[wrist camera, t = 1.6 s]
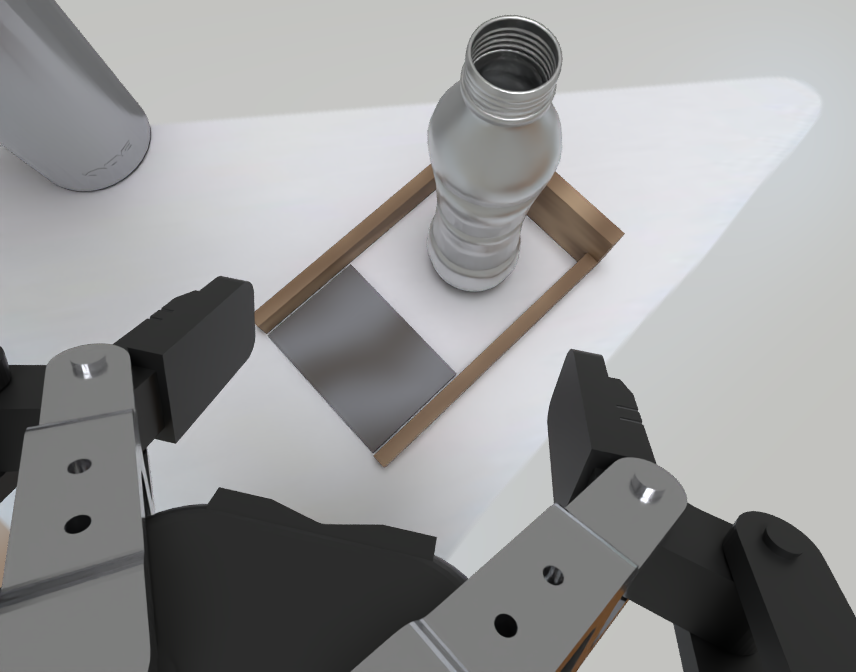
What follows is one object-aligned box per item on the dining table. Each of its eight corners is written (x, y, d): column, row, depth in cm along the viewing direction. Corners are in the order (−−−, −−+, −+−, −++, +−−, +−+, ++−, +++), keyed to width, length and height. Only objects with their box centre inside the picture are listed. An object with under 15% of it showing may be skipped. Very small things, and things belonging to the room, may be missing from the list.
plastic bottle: (477, 316, 37) (534, 164, 18) (408, 261, 38) (391, 59, 19) (530, 255, 39) (637, 48, 19) (462, 202, 40) (498, -44, 20)
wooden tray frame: (258, 324, 37) (232, 303, 32) (470, 143, 41) (477, 101, 36) (385, 466, 35) (379, 468, 30) (599, 262, 38) (624, 233, 34)
